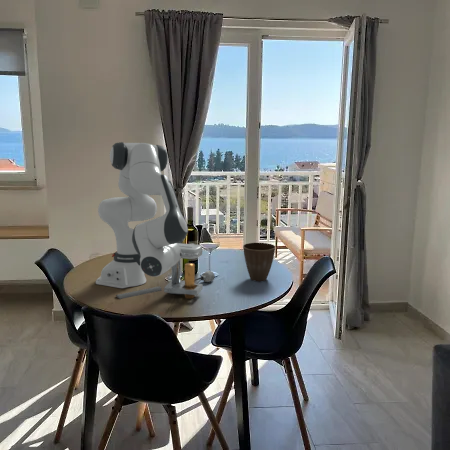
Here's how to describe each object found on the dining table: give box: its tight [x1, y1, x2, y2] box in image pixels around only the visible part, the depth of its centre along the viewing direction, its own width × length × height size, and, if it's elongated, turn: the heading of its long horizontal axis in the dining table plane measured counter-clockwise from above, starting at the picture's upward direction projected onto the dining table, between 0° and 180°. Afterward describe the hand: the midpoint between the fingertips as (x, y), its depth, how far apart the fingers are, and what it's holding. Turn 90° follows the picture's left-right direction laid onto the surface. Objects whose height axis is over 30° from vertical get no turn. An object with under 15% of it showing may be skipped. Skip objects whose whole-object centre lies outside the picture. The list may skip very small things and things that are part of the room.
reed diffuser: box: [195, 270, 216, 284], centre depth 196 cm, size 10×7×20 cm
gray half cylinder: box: [115, 286, 162, 300], centre depth 185 cm, size 4×20×2 cm, turn 126°
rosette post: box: [163, 242, 203, 296], centre depth 182 cm, size 14×11×22 cm
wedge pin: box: [184, 262, 196, 300], centre depth 180 cm, size 4×4×14 cm
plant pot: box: [242, 242, 276, 282], centre depth 205 cm, size 15×15×16 cm
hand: (180, 244), depth 166 cm, fingers open, 8 cm apart
